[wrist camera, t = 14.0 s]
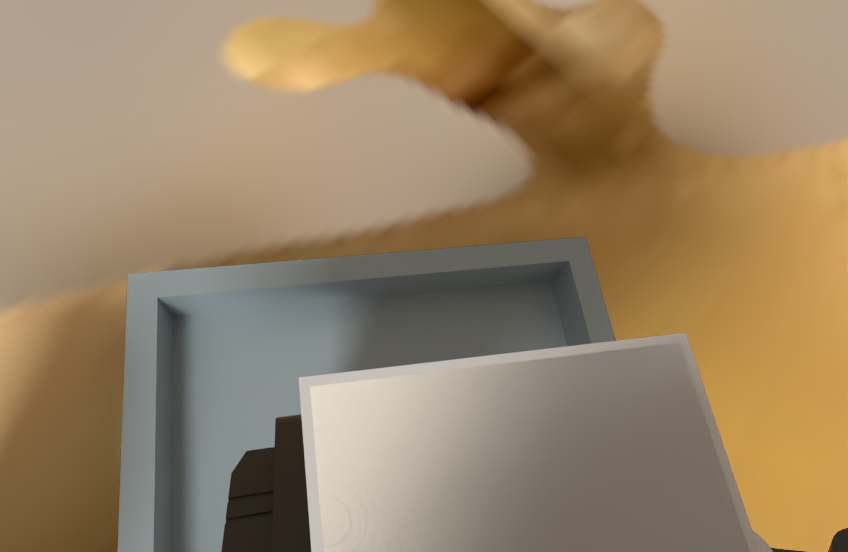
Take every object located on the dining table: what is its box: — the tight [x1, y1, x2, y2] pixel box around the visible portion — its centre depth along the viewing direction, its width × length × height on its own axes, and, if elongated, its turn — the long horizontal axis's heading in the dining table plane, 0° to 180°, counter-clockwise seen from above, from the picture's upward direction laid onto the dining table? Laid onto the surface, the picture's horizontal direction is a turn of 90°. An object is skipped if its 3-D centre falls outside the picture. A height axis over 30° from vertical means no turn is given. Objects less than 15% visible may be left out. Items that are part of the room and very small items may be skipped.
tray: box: [117, 237, 615, 552], centre depth 16 cm, size 14×16×2 cm
